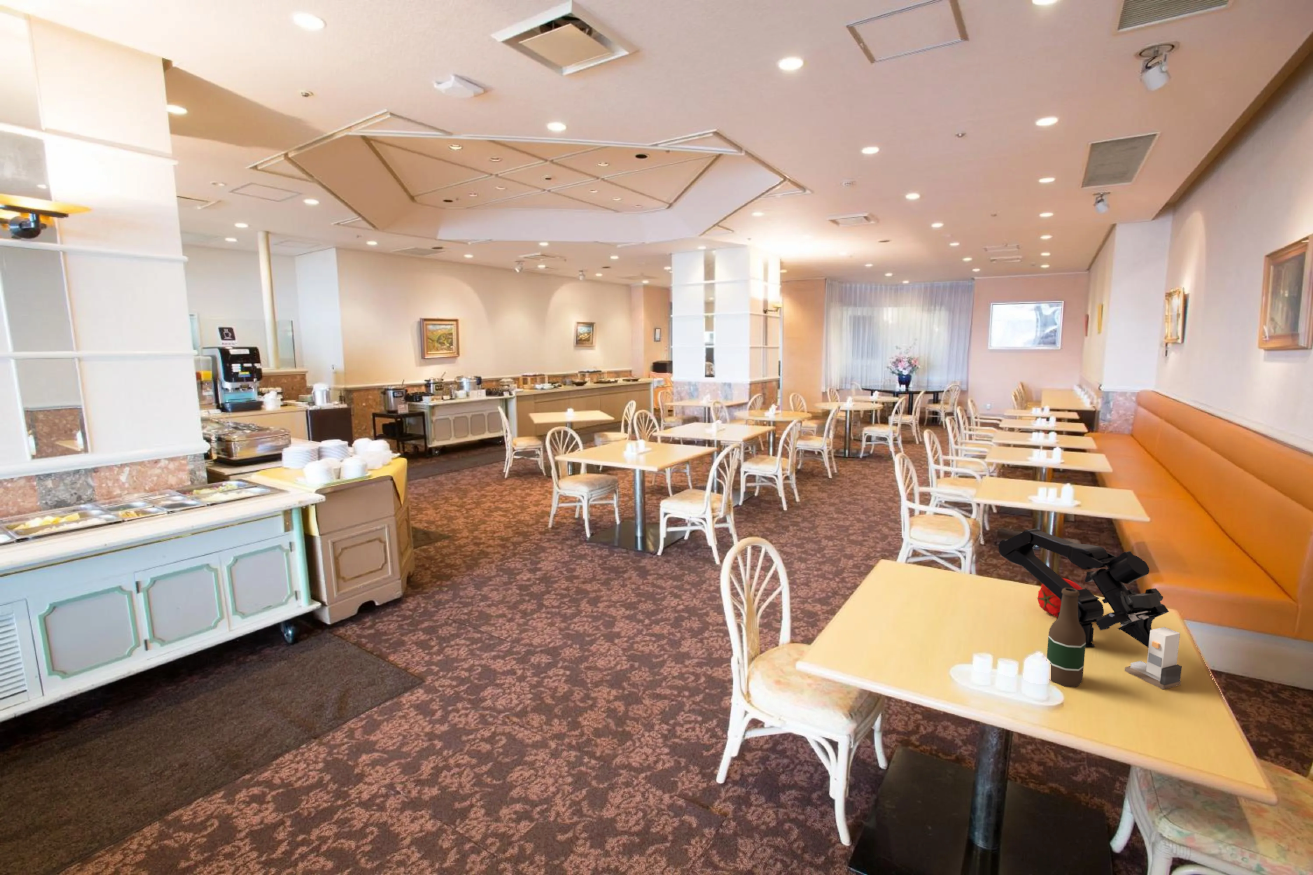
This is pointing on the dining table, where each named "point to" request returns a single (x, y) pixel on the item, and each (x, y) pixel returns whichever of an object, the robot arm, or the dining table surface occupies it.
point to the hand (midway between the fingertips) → (1154, 649)
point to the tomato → (1052, 598)
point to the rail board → (1167, 680)
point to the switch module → (1162, 650)
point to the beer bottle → (1067, 643)
